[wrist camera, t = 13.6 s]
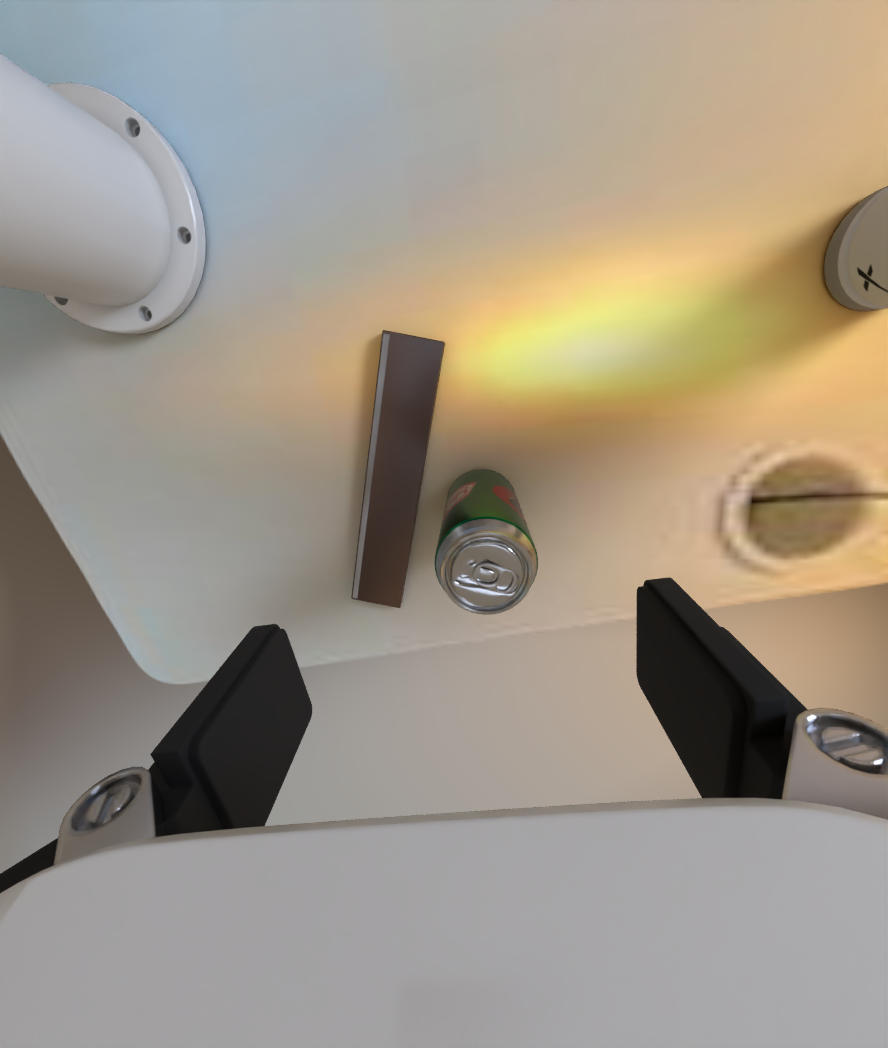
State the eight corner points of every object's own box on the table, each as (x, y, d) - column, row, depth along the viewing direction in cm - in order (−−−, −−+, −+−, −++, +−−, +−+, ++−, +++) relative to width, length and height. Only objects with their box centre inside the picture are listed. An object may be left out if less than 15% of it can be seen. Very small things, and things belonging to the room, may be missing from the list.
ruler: (353, 593, 34) (351, 599, 33) (385, 331, 27) (382, 329, 26) (401, 603, 34) (399, 609, 33) (445, 342, 27) (444, 341, 26)
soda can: (460, 457, 29) (453, 509, 18) (526, 481, 30) (559, 545, 18) (438, 520, 31) (419, 602, 20) (500, 541, 31) (516, 635, 20)
